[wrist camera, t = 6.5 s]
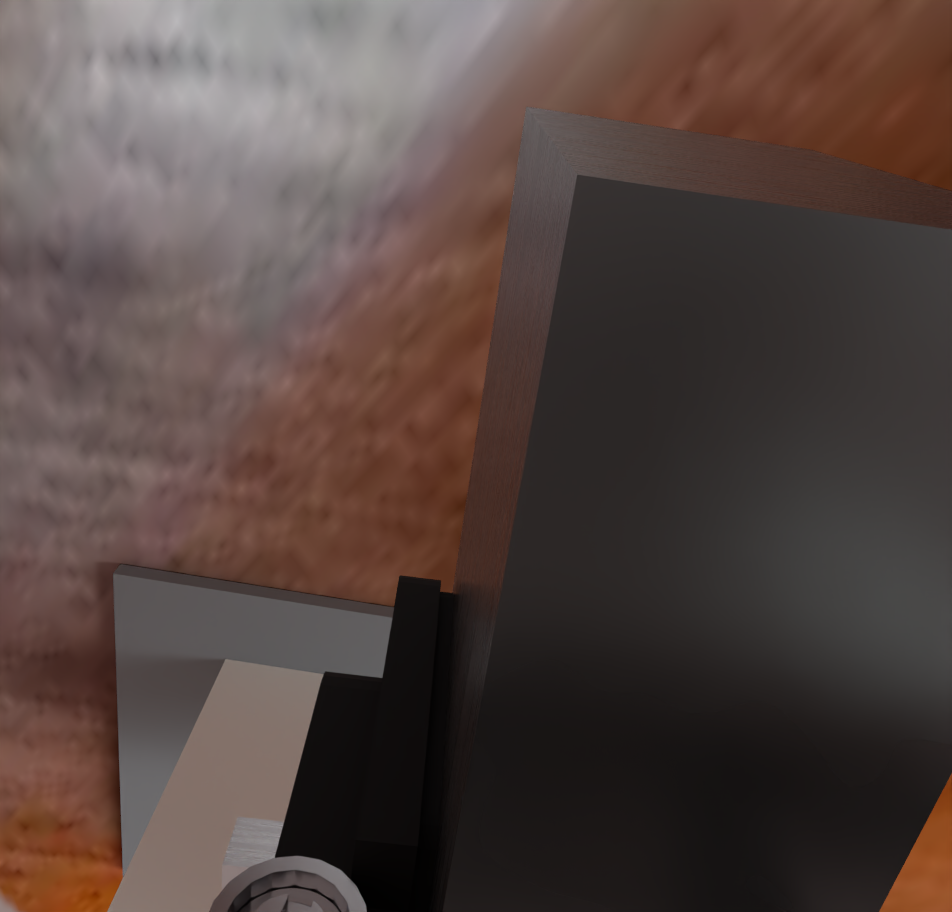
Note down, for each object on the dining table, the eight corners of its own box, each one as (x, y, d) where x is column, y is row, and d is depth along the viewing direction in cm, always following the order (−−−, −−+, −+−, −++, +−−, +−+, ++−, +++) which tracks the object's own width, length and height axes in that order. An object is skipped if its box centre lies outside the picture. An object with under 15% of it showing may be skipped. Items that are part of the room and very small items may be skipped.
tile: (225, 658, 30) (105, 916, 21) (443, 692, 31) (414, 959, 22) (223, 706, 31) (107, 970, 22) (434, 738, 32) (403, 1012, 23)
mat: (120, 563, 29) (113, 573, 29) (621, 643, 30) (622, 654, 30) (128, 867, 36) (123, 879, 36) (534, 926, 37) (534, 939, 37)
